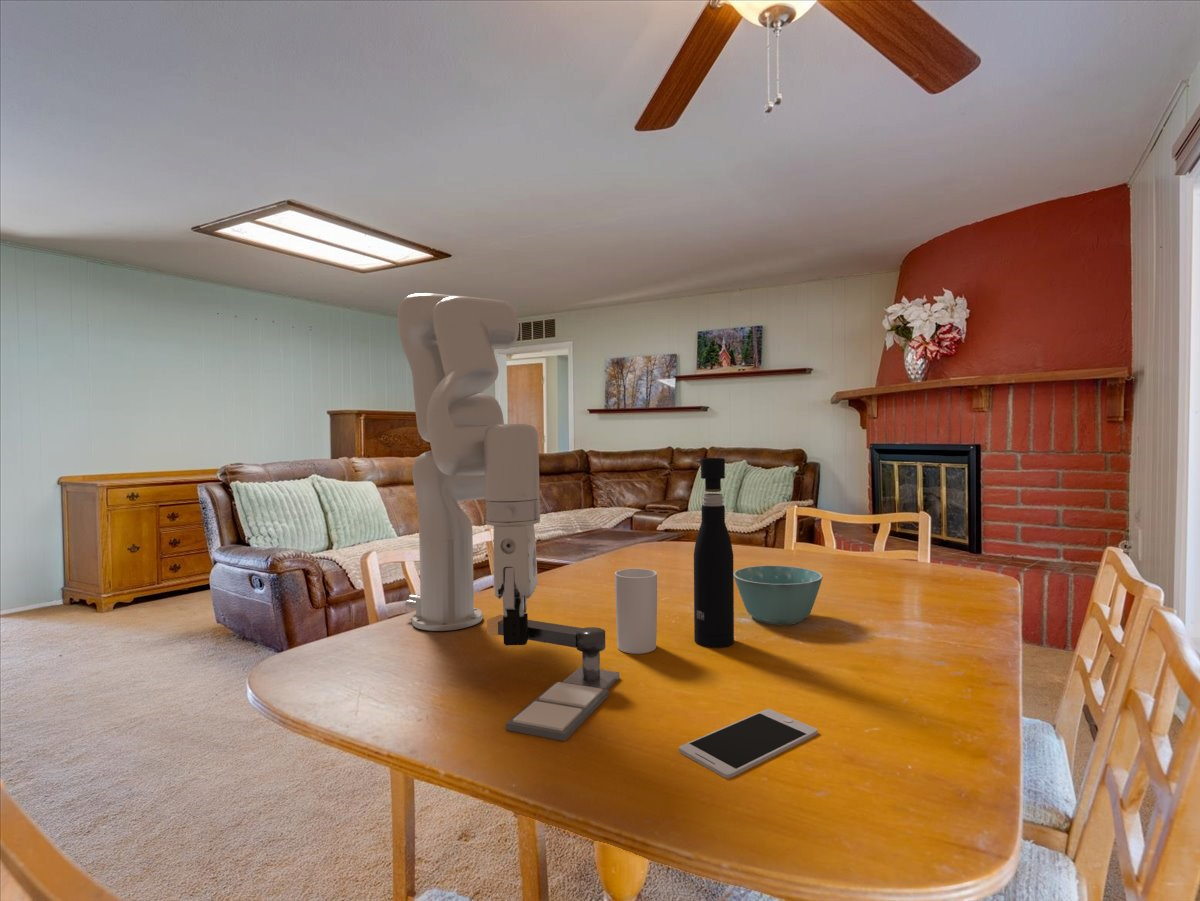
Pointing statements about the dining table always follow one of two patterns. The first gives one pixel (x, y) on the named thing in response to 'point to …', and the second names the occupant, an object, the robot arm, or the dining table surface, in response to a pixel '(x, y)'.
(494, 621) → the swing arm
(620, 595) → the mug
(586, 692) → the label tile
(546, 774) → the dining table surface
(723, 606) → the black bottle
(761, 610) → the bowl
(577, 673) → the pivot post base
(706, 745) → the smartphone
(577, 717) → the label tile
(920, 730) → the dining table surface
